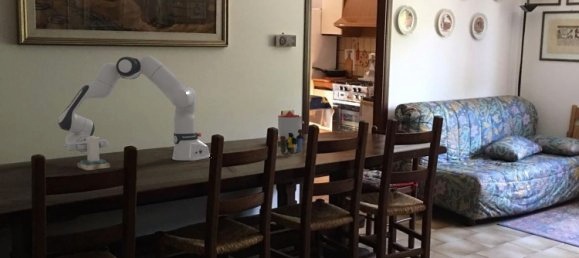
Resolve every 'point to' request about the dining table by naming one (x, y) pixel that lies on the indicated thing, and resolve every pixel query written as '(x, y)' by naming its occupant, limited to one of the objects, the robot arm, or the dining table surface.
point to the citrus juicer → (289, 124)
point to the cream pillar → (92, 149)
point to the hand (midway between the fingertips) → (93, 146)
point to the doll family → (291, 143)
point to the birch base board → (93, 164)
